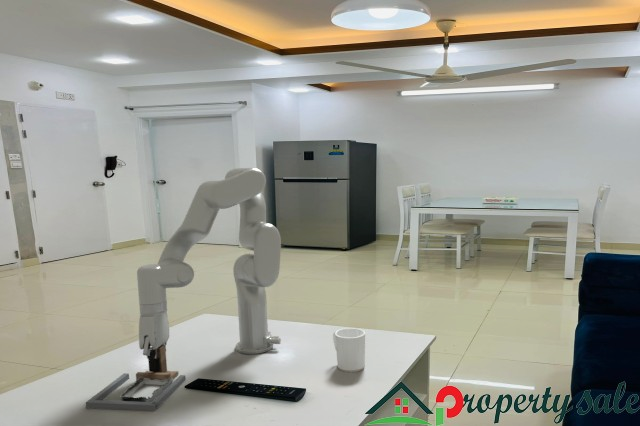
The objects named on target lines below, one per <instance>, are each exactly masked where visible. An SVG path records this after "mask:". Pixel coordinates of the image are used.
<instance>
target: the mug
mask: <svg viewBox="0 0 640 426" xmlns="http://www.w3.org/2000/svg"><path fill="white" fill-rule="evenodd" d="M332 336H333V337H332V341H333V344H334V348H335V351H336V361H337V368H338V369H339V370H340V371H342V372H344V373H345V372H347V373H358V372H360V371H362V370H363V369H365V367H366V361H365V360H366V331H365V330H363V329H360V328H353V327H348V328H340V329H338V330H336V331H334V332H333V335H332Z"/></svg>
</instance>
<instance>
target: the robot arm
mask: <svg viewBox="0 0 640 426" xmlns="http://www.w3.org/2000/svg"><path fill="white" fill-rule="evenodd" d="M224 176H225V177H224V179H221V180H207V181H204V182H202V183H201V184H200V185H199V186H198V188H197V189H196V192H195V194H194V196H193V197H192V201H191V203H190V205H189V208H188V210H187V212H186V214H185V217H184V219H183V221H182V224H180V226H179V227H178V228H177V230H176V231H175V232H174V234H173V235H172V236H171V237H170V238H169V240H168V241H167V243H166V245H165V247H164V248H163V251H162V252H161V255H160V257H159V259H158V262H157V263H152V264H144V265H141V266H139V267H138V269H137V271H136V280H137V291H138V301H139V302H138V304H139V314H140V315H139V321H138V322H139V323H138V345H139V346H138V347H139V349H140V350H143V351H142V355H143V356H146V358H147V360H148V371H150V372H159V371H160V359H159V358H158V347H159V346H161V345H165V350H166V351H167V342H168V341H169V339H170V324H169V317H168V304H167V303H168V302H167V300H168V299H167V289H174V288H176V289H178V288H179V289H180V288H184V287H187V286H188V285H190V284H191V283H192V282H193V280H194V278H195V271H194V268H193V267H192V265H190V264H188V263H187V262H185V261H184V260H185V258H186V256H187V254H188V253H189V251H190V250H191V249H192V248H193V246H194V245H196V244H198V243H199V242H201V241H203V240H204V239H205V238H207V237H208V235H210V232H211V230H212V228H213V225H214V223H215V220H216V217H217V216H218V214H219V211H220V210H225V209H229V208H233V207H235V206H237V205H239V228H238V229H239V230H238V241H239V244H240V246H241V247H242V248H243V249H245V250H248V251H253V253H243V254H242V255H240V256H239V257H237V259H236V260H235V262H234V263H233V268H232V269H233V277H234V282H235V288H236V297H237V311H238V313H237V315H238V316H237V317H238V330H239V331H238V332H239V333H238V334H239V335H238V336H239V342H238V341H237V343H236V344H235V345H234V346H235V347H234V348H235V351H236V352H238V353H240V354H245V355H256V354H262V353H265V352H268V351H270V350H271V349H273V347H274V345H280V344H281V341H282V339H281V338H280V336H278V335H277V336H273V335H272V333H271V331H269V324H268V308H267V306H268V305H267V304H268V303H267V291H266V288H269V287H271V286H273V285H274V284H275V283H276V282H277V280H278V278H279V274H280V268H281V267H280V266H281V265H280V264H281V252H282V251H281V249H282V237H281V234H280V231H279V229H278V228H277V227H276V226H275V225H273V224H272V223H269V222H268V223H267V206H266V205H267V204H266V199H265V197H264V194H263V193H262V192H263V191H264V189H265V188H266V185H267V179H266V178H267V177H266V175H265V174H264V172H263V171H262V170H260V169H258V168H255V167H245V168H244V167H239V168H238V167H237V168H232V169H230V170H229V171H227V172H226V174H225V175H224ZM151 350H154V352H151Z"/></svg>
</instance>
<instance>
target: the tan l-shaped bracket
mask: <svg viewBox="0 0 640 426" xmlns="http://www.w3.org/2000/svg"><path fill="white" fill-rule="evenodd" d="M151 352H154V350H151ZM158 358H159V359H160V371H159V372H150V371H149V370H145V371H143V372H142V371H137V372H136V373H135V379H136V380H135V382H136V381H137V380H138V379H139V378H140V377H143V378H144V377H145V378H149V379H150V380H154V379H159V380H165V379H169V380H170V379H171V377H173V380H175V378H176V377H177V376H178V375H179V371H177V370H173V371H172V370H168V366H167V349H166V350H165V345H161V346H159V347H158Z"/></svg>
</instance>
